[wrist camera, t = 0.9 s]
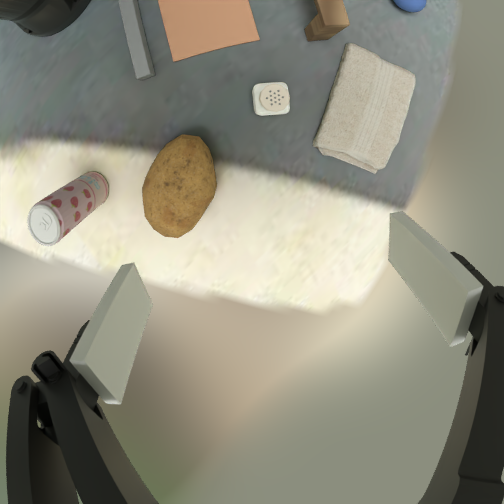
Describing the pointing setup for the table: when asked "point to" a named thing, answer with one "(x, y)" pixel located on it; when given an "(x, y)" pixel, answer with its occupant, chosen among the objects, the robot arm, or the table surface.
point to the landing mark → (206, 25)
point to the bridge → (327, 20)
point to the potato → (179, 186)
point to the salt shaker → (271, 98)
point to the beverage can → (66, 208)
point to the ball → (411, 5)
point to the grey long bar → (136, 39)
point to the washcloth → (365, 110)
